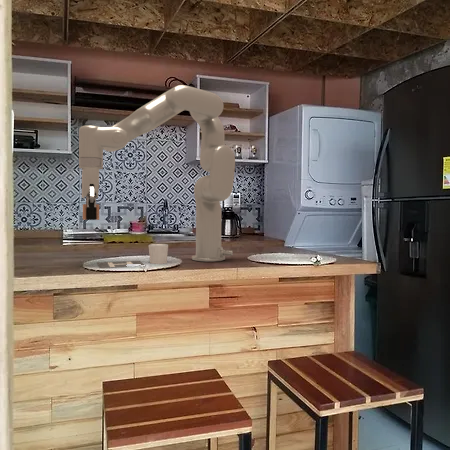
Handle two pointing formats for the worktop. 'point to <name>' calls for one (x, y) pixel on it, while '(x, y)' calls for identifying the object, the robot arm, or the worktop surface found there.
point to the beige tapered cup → (158, 253)
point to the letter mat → (117, 264)
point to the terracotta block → (85, 211)
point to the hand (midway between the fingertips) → (90, 218)
